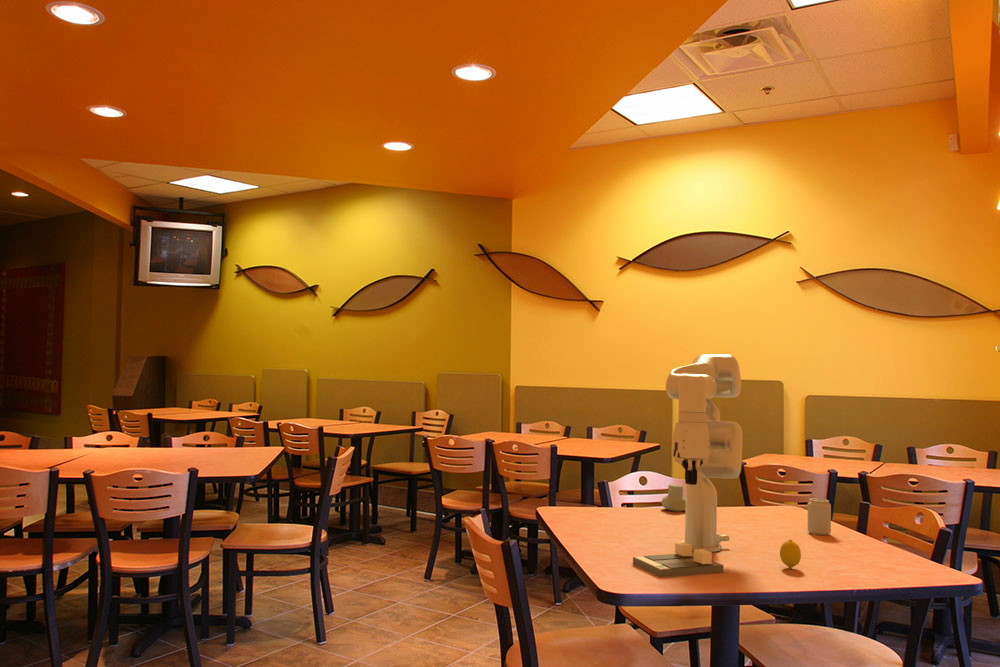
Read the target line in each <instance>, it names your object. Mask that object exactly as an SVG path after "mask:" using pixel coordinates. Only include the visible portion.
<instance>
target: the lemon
mask: <svg viewBox="0 0 1000 667" xmlns="http://www.w3.org/2000/svg"><path fill="white" fill-rule="evenodd" d="M779 557H780V560H781V562H782V563H783V564H784V565H785V566H787V567H788V569H790V570H791V569H792V568H793V567H796V566H798V565H799V564H800V561H801V558H802V551H801V547H800V546H799V544H797V542H795V541H793V540H792V539H788V540H786V541H785V542H783V543H782V544H781V546H780V549H779Z"/></svg>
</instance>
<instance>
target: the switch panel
mask: <svg viewBox="0 0 1000 667" xmlns="http://www.w3.org/2000/svg"><path fill="white" fill-rule="evenodd" d="M632 565H634V566H636V567H637V568H640V569H642V570H644V571H646V572H648V573H650V574H652V575H654V576H657V577H659V578H669V577H682V576H697V575H709V574H710V575H711V574H721V573H724V564H721V563H720V562H719V563H718V562H717V561H714V560H712V564H701V563H698V562H696V561H694V552H692V556H681V555H679V554H676V553H668V554H667V553H666V554H652V555H643V556H642V555H641V556H633V557H632Z"/></svg>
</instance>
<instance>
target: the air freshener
mask: <svg viewBox="0 0 1000 667" xmlns="http://www.w3.org/2000/svg"><path fill="white" fill-rule="evenodd" d="M667 489H668V490H667V495H665V496H664V497H663V498H661V499H662V500H661V505H662V507H663V508H664V509H666V510H668V511H671V512H675V513H678V512H683V511H685V508H686V496H684V486H683V485H682V484H675V483H674V484H668V487H667Z"/></svg>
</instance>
